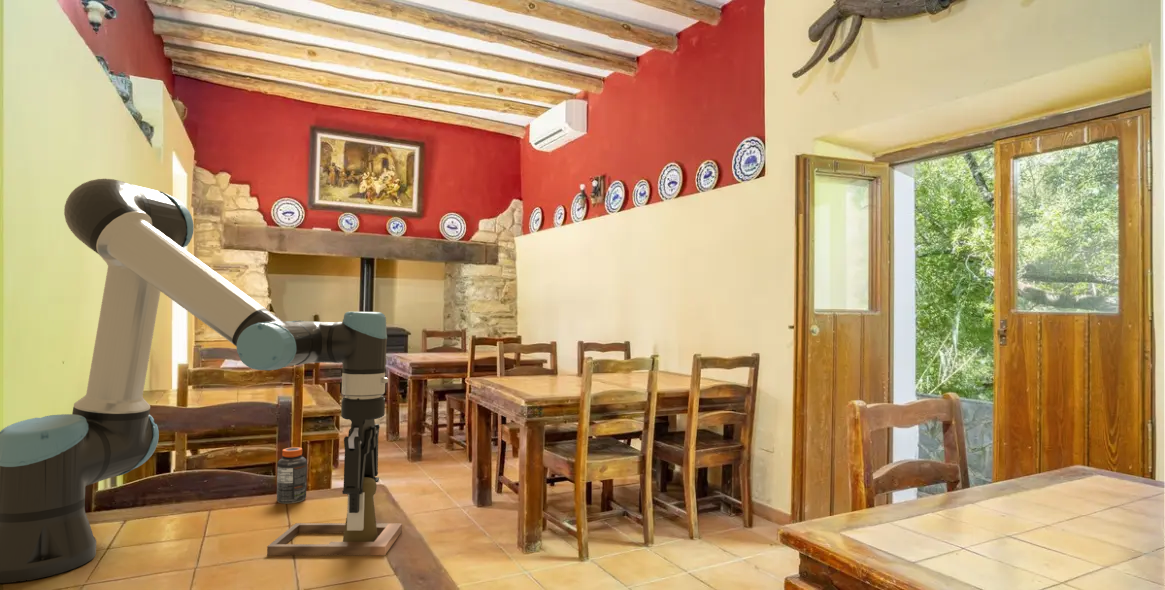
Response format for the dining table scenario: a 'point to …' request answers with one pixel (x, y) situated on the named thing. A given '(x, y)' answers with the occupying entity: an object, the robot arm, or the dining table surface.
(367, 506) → the olive rounded upright piece
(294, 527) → the keyhole board
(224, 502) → the dining table surface
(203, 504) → the dining table surface
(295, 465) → the pill bottle
